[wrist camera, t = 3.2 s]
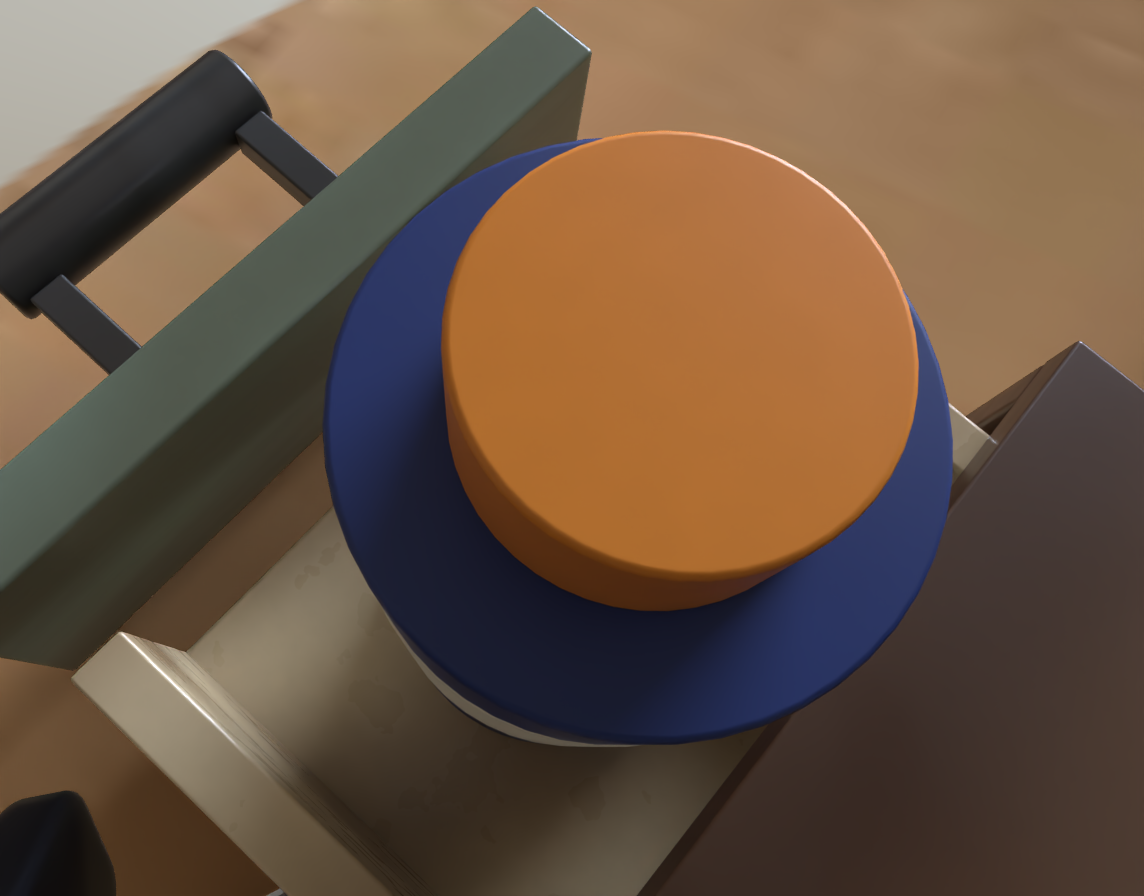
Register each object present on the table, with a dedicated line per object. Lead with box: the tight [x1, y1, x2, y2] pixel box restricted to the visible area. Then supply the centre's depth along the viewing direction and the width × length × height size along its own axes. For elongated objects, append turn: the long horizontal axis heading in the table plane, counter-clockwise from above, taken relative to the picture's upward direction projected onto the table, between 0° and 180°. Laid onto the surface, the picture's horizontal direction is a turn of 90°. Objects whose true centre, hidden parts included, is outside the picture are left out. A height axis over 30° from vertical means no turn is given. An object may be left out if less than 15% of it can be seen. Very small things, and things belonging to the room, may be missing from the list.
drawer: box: [0, 7, 989, 896], centre depth 15 cm, size 16×12×4 cm
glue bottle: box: [322, 131, 953, 747], centre depth 11 cm, size 5×5×10 cm
